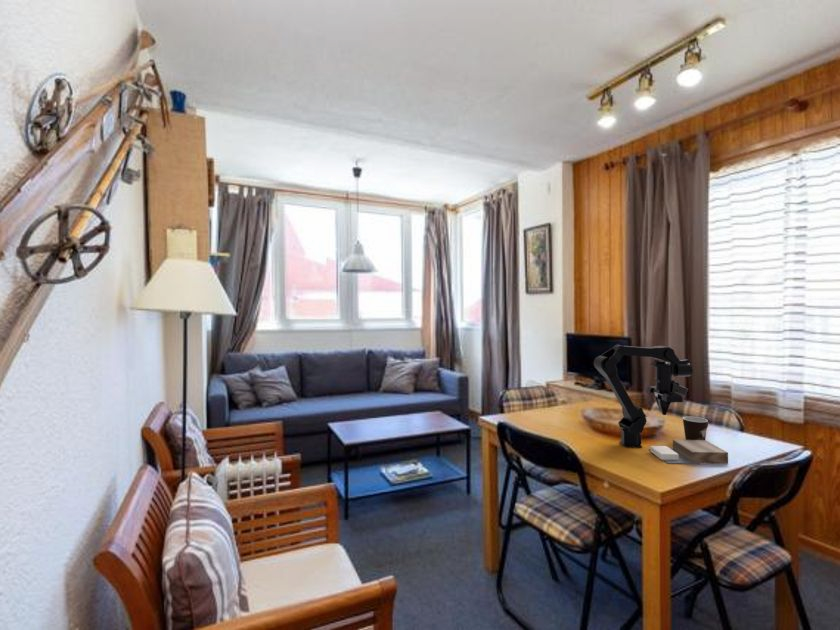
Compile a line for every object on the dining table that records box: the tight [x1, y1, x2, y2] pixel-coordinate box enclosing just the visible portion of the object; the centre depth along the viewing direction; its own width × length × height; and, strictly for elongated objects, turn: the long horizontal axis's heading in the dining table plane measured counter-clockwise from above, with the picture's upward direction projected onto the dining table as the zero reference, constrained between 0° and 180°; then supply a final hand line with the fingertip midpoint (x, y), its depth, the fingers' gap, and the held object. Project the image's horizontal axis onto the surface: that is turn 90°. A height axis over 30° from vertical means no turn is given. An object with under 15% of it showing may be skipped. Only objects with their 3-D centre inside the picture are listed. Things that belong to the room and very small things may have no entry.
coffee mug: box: [682, 416, 709, 440], centre depth 172 cm, size 12×9×10 cm
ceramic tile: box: [649, 445, 679, 461], centre depth 158 cm, size 6×9×2 cm, turn 175°
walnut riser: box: [672, 439, 729, 465], centre depth 158 cm, size 12×14×4 cm
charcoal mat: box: [648, 448, 701, 465], centre depth 158 cm, size 11×15×1 cm
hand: (664, 414), depth 172 cm, fingers closed
